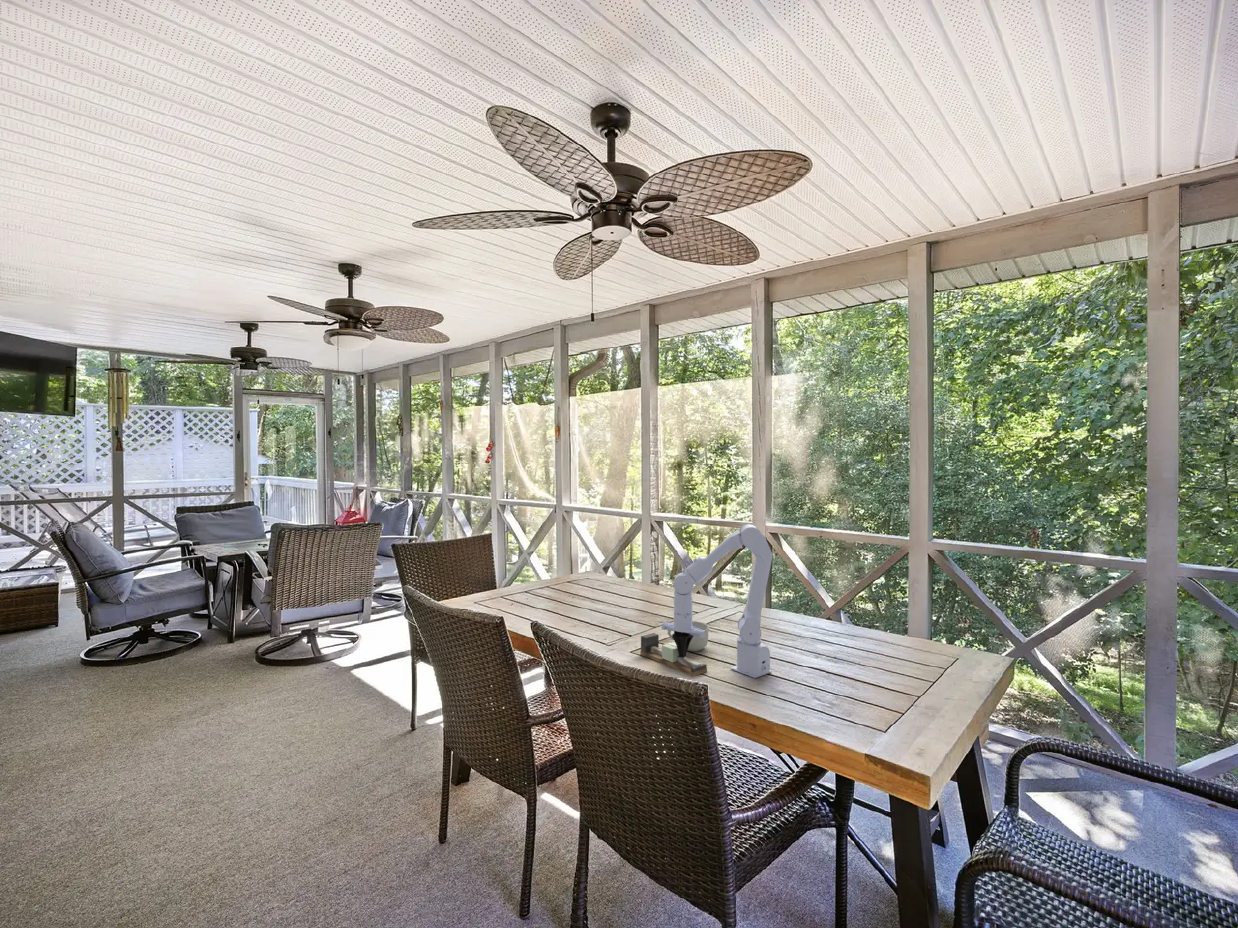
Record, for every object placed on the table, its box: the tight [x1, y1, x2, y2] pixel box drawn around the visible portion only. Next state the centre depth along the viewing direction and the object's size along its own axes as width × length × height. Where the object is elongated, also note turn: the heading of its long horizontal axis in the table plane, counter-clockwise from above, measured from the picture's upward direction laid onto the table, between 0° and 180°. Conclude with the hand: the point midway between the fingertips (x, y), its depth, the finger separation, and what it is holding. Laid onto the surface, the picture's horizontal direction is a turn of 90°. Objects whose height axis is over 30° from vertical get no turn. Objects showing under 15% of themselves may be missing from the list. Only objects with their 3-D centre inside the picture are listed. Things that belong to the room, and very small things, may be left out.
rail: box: [639, 632, 708, 677], centre depth 182 cm, size 24×6×6 cm, turn 38°
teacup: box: [667, 620, 710, 652], centre depth 196 cm, size 14×11×8 cm
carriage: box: [661, 641, 686, 662], centre depth 182 cm, size 5×5×4 cm
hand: (682, 656), depth 179 cm, fingers closed
